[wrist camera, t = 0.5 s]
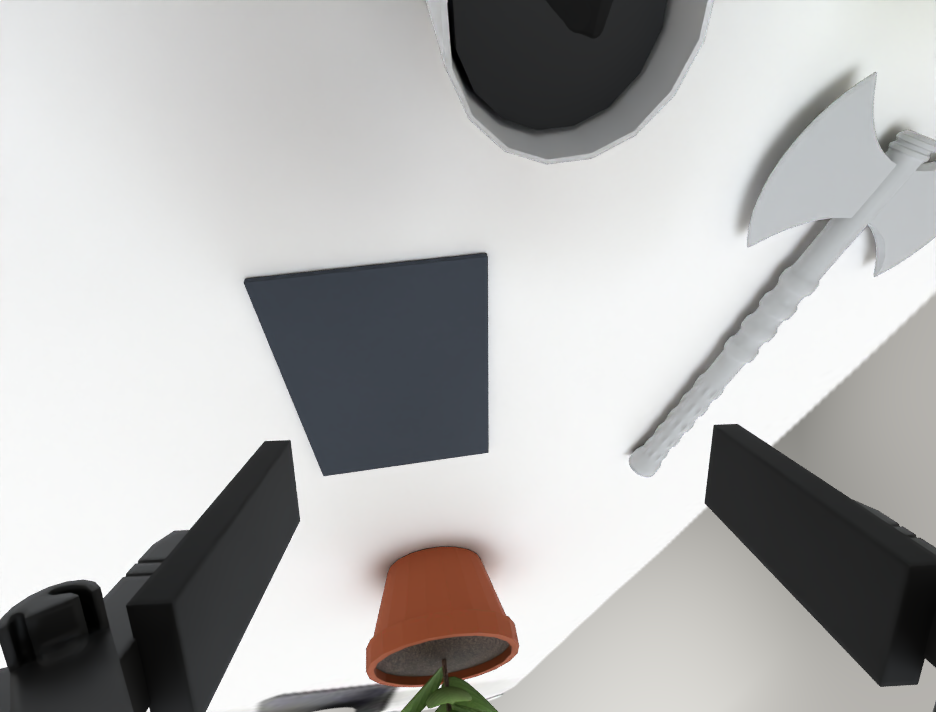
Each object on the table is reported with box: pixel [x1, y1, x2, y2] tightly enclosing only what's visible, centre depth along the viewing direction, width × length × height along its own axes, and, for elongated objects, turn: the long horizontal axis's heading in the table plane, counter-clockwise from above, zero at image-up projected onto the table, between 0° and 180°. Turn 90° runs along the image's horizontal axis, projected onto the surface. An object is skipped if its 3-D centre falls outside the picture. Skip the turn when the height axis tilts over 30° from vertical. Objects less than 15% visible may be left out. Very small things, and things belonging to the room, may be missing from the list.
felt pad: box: [244, 253, 488, 476], centre depth 32 cm, size 18×13×1 cm
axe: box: [629, 72, 936, 477], centre depth 33 cm, size 30×14×2 cm, turn 163°
